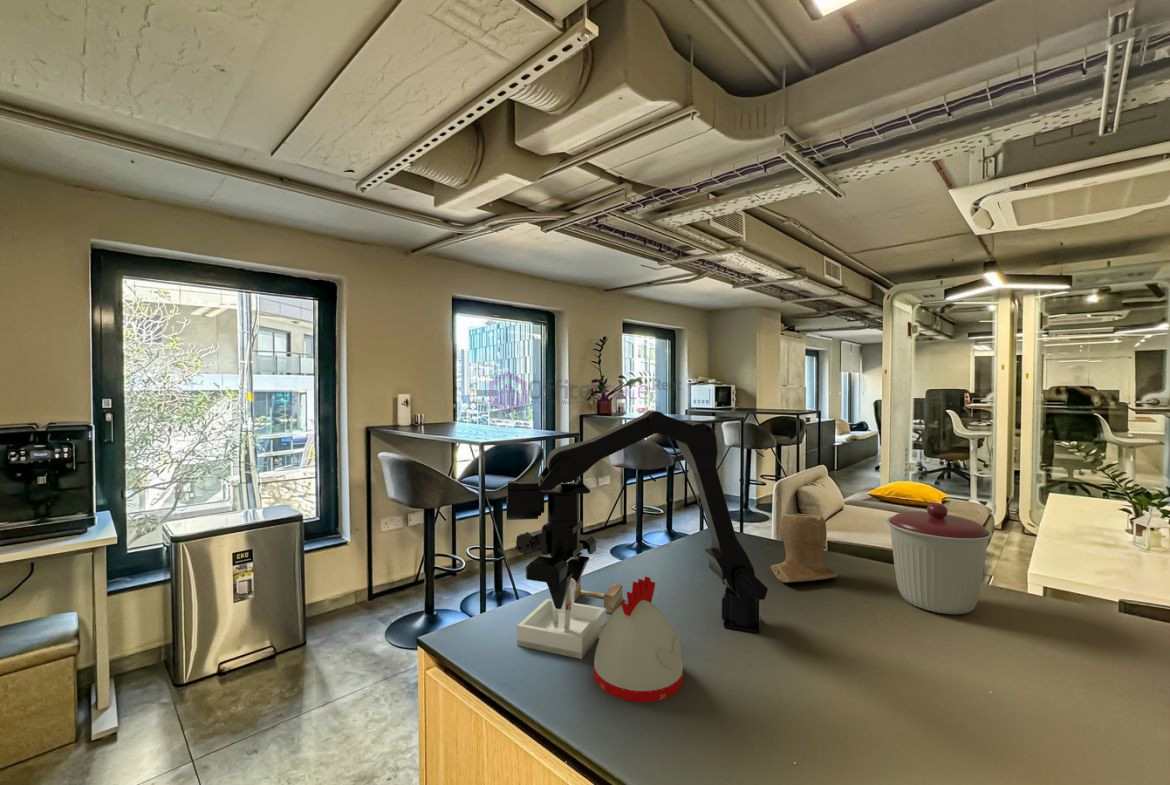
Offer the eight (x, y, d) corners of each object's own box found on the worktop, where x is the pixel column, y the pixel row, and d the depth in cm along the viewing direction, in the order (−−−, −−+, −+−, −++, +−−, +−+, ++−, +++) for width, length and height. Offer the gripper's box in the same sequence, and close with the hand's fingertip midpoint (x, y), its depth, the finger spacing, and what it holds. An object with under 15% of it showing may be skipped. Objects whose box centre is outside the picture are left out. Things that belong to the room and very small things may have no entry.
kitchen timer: (698, 672, 81) (699, 578, 81) (651, 715, 71) (652, 607, 71) (627, 643, 90) (627, 559, 90) (576, 677, 80) (576, 582, 80)
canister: (866, 592, 113) (867, 497, 113) (929, 583, 118) (930, 492, 118) (943, 629, 96) (945, 517, 95) (1014, 617, 101) (1016, 511, 100)
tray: (605, 626, 96) (605, 608, 96) (581, 659, 85) (582, 638, 85) (547, 615, 101) (547, 598, 101) (517, 645, 90) (517, 625, 89)
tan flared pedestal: (810, 565, 130) (811, 506, 129) (845, 583, 118) (846, 518, 118) (757, 570, 126) (758, 510, 126) (788, 589, 114) (788, 522, 114)
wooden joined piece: (623, 599, 109) (623, 583, 109) (613, 613, 102) (613, 595, 102) (574, 591, 113) (574, 575, 113) (561, 604, 106) (561, 587, 106)
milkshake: (543, 633, 90) (545, 574, 91) (556, 623, 95) (558, 568, 96) (566, 637, 89) (568, 578, 90) (578, 627, 94) (580, 571, 94)
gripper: (545, 502, 104) (545, 578, 105) (497, 526, 87) (498, 618, 87) (597, 507, 100) (597, 586, 101) (557, 533, 83) (558, 629, 83)
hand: (563, 603), depth 93 cm, fingers closed on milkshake, 4 cm apart
